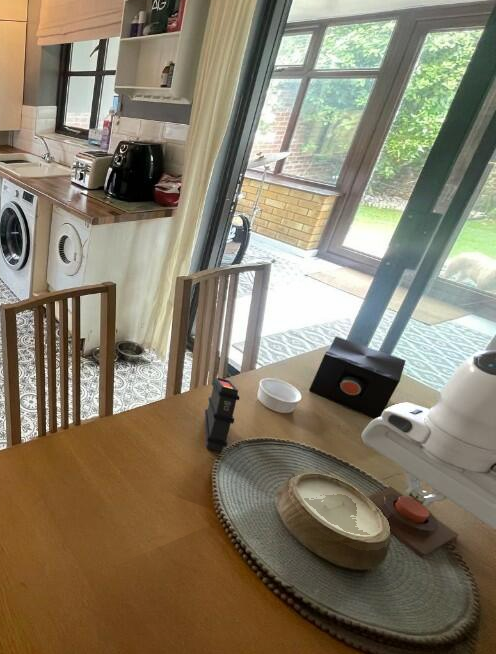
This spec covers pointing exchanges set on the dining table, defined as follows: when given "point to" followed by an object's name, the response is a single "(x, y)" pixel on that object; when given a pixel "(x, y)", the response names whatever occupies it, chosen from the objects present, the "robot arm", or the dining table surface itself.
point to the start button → (412, 509)
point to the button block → (412, 525)
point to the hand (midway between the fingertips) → (417, 499)
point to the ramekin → (278, 395)
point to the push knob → (351, 385)
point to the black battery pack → (220, 414)
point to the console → (358, 376)
